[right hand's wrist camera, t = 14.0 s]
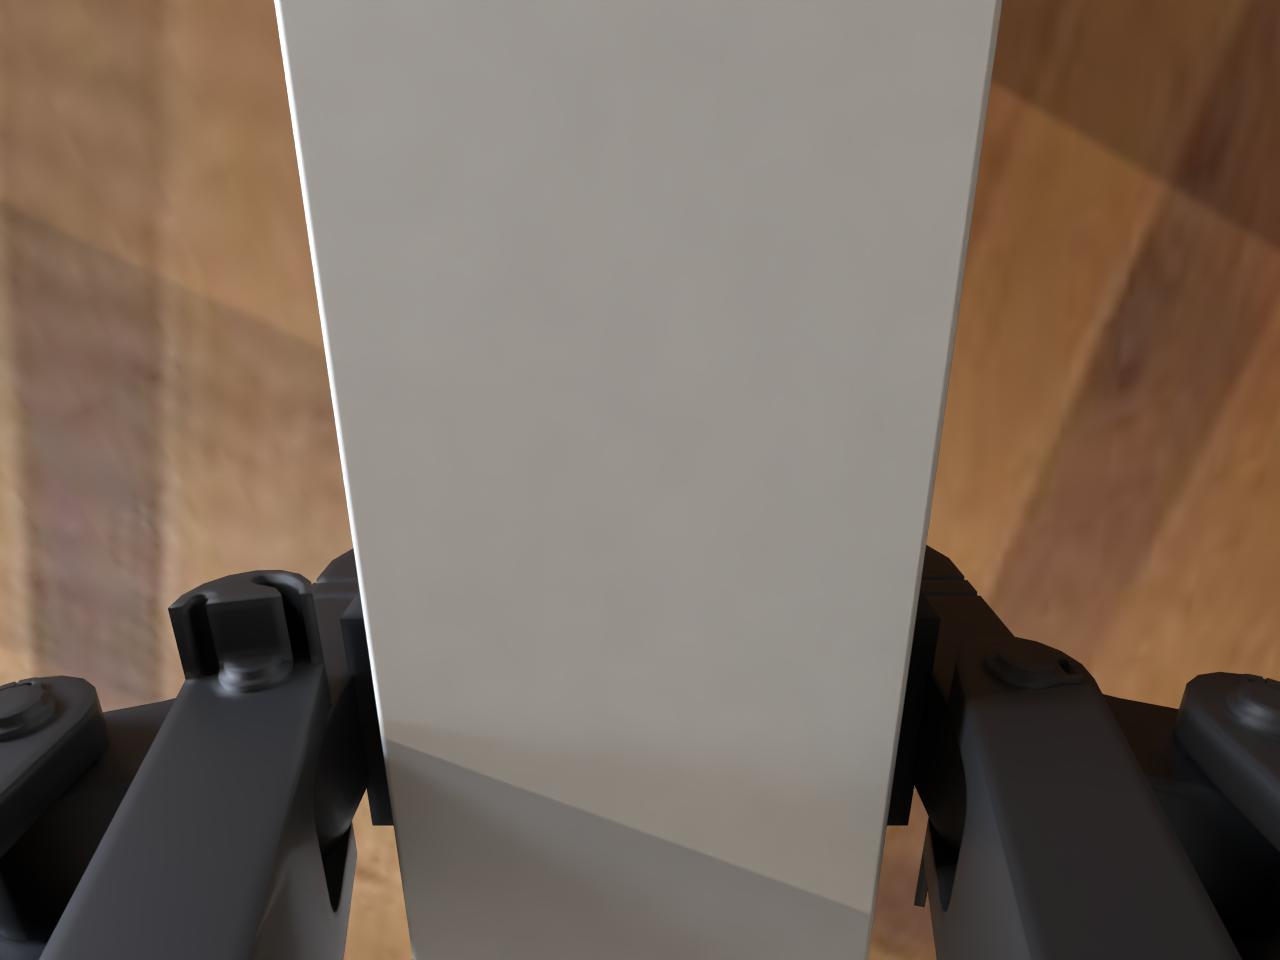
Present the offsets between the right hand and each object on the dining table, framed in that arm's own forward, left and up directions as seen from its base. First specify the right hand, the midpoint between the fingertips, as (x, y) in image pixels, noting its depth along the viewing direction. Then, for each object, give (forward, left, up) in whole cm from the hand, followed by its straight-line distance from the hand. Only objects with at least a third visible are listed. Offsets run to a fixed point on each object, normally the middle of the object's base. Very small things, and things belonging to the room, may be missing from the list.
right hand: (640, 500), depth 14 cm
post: (+11, -19, -1) cm, 22 cm away
